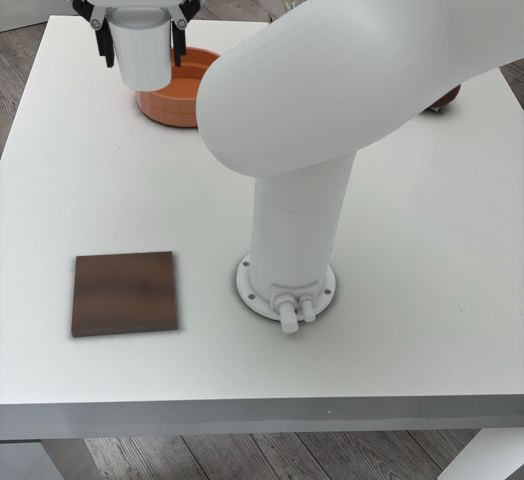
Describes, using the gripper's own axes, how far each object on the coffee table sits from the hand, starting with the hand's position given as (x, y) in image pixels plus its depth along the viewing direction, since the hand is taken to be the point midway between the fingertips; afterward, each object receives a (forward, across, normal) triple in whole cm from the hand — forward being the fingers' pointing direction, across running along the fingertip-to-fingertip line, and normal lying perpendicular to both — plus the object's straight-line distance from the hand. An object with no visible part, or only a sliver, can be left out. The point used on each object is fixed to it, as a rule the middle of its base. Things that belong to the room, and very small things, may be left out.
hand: (144, 60), depth 62 cm
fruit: (+20, +46, +24) cm, 56 cm away
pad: (+20, -4, -18) cm, 27 cm away
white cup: (+2, 0, 0) cm, 2 cm away
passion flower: (+19, +24, +38) cm, 49 cm away
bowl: (+19, +4, +24) cm, 31 cm away
